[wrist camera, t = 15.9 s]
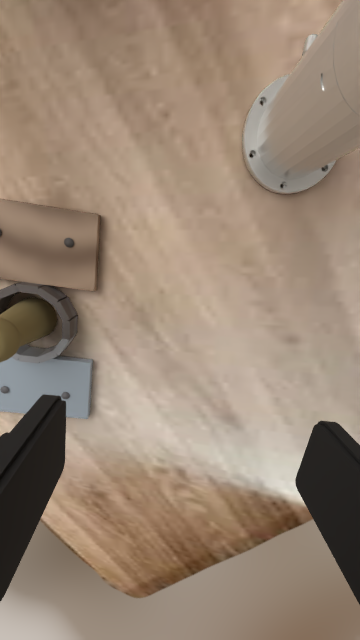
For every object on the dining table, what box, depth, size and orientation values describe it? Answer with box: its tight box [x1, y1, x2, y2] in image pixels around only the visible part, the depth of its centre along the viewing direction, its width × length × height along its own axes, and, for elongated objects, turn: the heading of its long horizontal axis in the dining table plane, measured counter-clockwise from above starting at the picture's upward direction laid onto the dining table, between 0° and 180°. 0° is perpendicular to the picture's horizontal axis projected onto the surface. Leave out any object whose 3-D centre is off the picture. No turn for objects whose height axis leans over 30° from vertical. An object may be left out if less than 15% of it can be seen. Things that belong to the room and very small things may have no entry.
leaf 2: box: [0, 334, 93, 419], centre depth 37 cm, size 14×16×3 cm
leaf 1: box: [0, 199, 101, 340], centre depth 33 cm, size 17×16×3 cm
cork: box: [0, 297, 57, 362], centre depth 31 cm, size 6×6×11 cm
